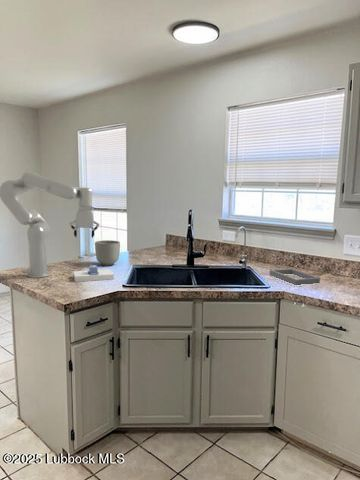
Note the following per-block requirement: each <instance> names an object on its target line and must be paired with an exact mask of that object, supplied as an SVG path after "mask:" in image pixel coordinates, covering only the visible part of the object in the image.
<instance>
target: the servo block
mask: <svg viewBox="0 0 360 480" xmlns="http://www.w3.org/2000/svg"><path fill="white" fill-rule="evenodd" d="M97 270H98V266H97V265H96V264H95V265H93V264H92V265H88V271H89V275H98V273H97Z"/></svg>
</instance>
